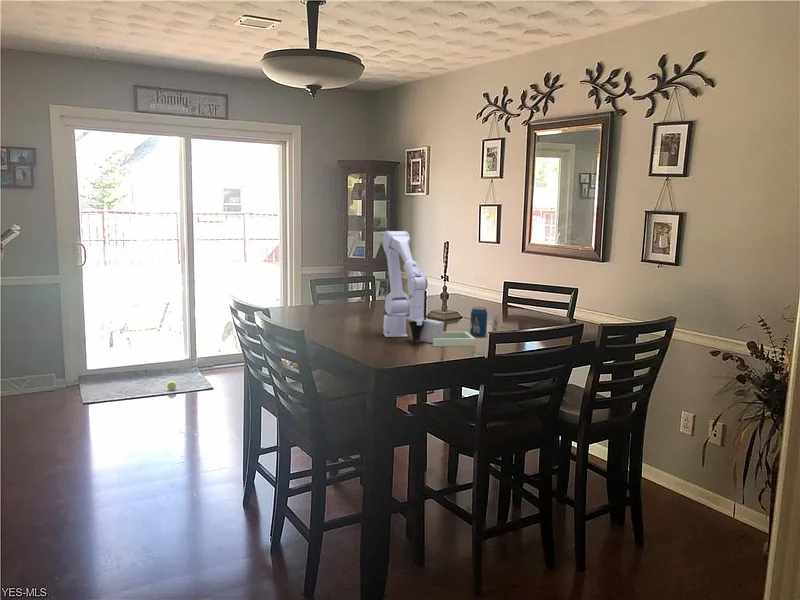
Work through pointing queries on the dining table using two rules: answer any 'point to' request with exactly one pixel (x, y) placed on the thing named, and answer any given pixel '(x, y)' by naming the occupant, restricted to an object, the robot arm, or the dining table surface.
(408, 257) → the robot arm
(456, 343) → the bay
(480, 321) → the soda can
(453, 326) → the dining table surface
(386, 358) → the dining table surface
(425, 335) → the medicine box
